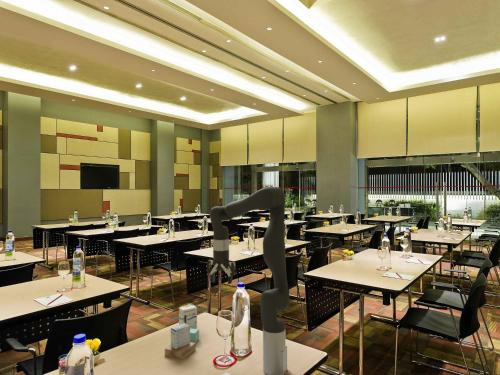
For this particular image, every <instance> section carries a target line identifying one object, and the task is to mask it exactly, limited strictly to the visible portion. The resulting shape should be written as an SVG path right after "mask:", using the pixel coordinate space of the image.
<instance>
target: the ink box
mask: <svg viewBox="0 0 500 375" xmlns="http://www.w3.org/2000/svg"><path fill="white" fill-rule="evenodd" d="M184 323H185V324H187V325H189V326H190V329H198V307H197V306H196V305H194V304H189V305H183V306H180V307H179V308H178V325H181V324H184Z"/></svg>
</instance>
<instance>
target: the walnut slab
mask: <svg viewBox="0 0 500 375" xmlns="http://www.w3.org/2000/svg"><path fill="white" fill-rule="evenodd" d="M196 343H197V342H196ZM196 343H192V342H190V344H188V345H186V346H183V347H181V348H178V349H174V348H172V347H171V344H169V345H168V346H166V347H165V348H164V356H167V357H171V358H176V359H181V360H185V359H186V358H187V357H188V356H189V355H191V354H192V353H193V352H194V351H196V349H197V348H196Z"/></svg>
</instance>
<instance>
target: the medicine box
mask: <svg viewBox="0 0 500 375" xmlns="http://www.w3.org/2000/svg"><path fill="white" fill-rule="evenodd" d="M188 344H190V326H189V325H187V324H185V323H184V324H181V325H179V324H178V325H176V326H173V327H171V328H170V345H171V347H172V348H174V349H178V348H181V347H183V346H186V345H188Z"/></svg>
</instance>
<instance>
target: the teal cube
mask: <svg viewBox="0 0 500 375" xmlns="http://www.w3.org/2000/svg"><path fill="white" fill-rule="evenodd" d="M199 330H200V329H199V328H197V329H190V342H192V343H197V342H198V341H199V340H200V334H199V333H200V331H199Z"/></svg>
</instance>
